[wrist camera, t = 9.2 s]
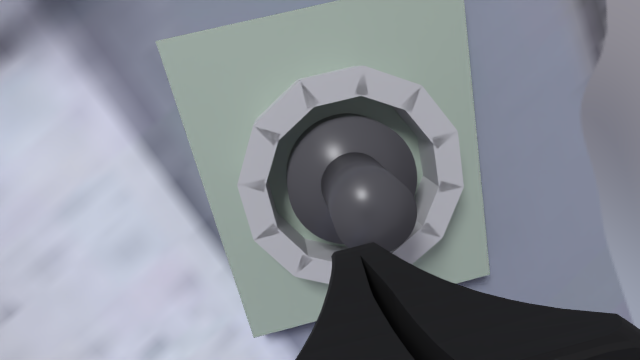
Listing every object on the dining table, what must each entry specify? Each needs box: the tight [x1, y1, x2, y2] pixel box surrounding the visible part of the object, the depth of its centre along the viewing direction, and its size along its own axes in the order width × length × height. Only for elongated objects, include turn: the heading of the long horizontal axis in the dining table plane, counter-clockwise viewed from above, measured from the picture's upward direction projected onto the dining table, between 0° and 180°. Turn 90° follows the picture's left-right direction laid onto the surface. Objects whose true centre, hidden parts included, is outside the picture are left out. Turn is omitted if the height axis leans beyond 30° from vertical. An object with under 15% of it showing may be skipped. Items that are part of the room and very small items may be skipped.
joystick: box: [286, 113, 417, 252], centre depth 16 cm, size 6×6×6 cm
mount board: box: [156, 0, 490, 338], centre depth 19 cm, size 16×14×4 cm
